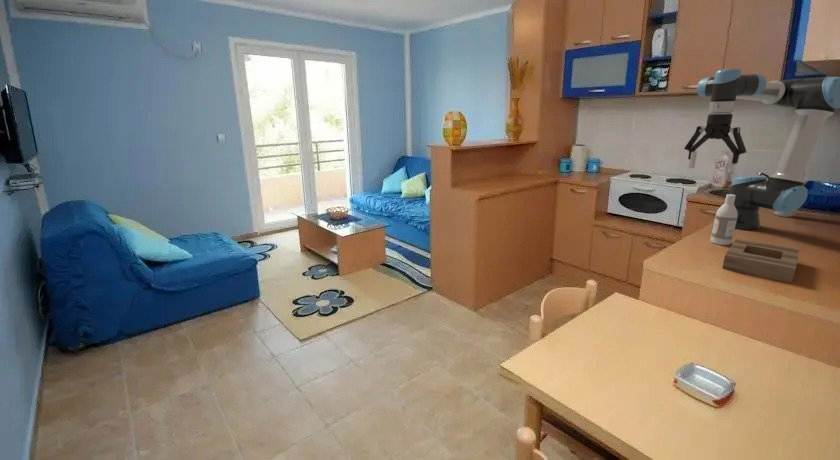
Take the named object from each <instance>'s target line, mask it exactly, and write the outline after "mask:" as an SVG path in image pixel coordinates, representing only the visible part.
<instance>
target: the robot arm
mask: <svg viewBox="0 0 840 460" xmlns="http://www.w3.org/2000/svg"><path fill="white" fill-rule="evenodd" d="M696 93H697V95H698V96H699V97H702V98H703V97H704V98H705V97H706V98H709V97H711V99H710V103H709V109H708V112H709V114H708V115H707V119H706V126H703V125H698V126H696V129H695V132H694V134H693V135H692V136H691V138H690V139H689V141H688V142H687V144H686V145H685V146H684V150H685V151H688V157H687V158H688V160H689V164H688V169H695V166H696V159H697V155H698V151H697V150H698V148H699V147H701V146H702V145H703V144H705V142H707V141H708V140H710V139H711V140H714V139H716V140H722V141H723V142H724V143H725V145H726V146H727V147H728V149H729V150H730V151H731V153H732V154H730V156H729V161H728V166H727V173H728V174H729V173H734V170H735V169H734V168H735V165H737V164H738V163H739V159H740V155H742V154H746V153H747V149H746V146H745V144H744V143H745V142H744V141H743V138H742V135H741V127H740V126H736V127H731V125H732V121H733V117H734V116H733V115H734V114H732V113H734V111H735V106H736V105H735V104H736V100H746V101H747V100H748V101H758V102H762V104H765V105H772V106H777V107H778V106H779V107H783V108H791V109H795V110H794V112H795V113H796V115H797V117H796V120H795V122H794V124H793V128H792V130H791V133H790V134H789V135H790V136H789V137H788V140H787V142H786V145H785V148H784V150H783V153H782V155H781V158H780V160H779V162H778V165H777V167H776V170H775V172H774V173H773V174H771V175H769V176H768V177H767V176H766V175H740V176H735V177H734V178H733V180H732V183H731V184H730V186H731V187H730V192H729V194H732V195H736V197H735V201H734V206H735V208H736V210H737V213H738V216H737V221H736V225H735V229H738V230H747V231H748V230H749V231H750V230H751V231H753V230H759V229H760V228H761V222H760V221H761V218H760V213H759V210H760V208H762V209H766V210H771V211H774V212H775V211H778V212H787V213H788V212H793V211H794V212H795V211H796V210H798V209H800V208H801V207H802V206H803V205H804V203H805V202H806V200H807V199H808V195H809V194H808V188H807V187H806V186H805V183H806V182H805V181H804V178H803V177H802V176H803V173H804V171H805V172H806V168H807V166H808V163H809V161H810V159H811V156H812V154H813V151H814V149H815V147H816V144H817V142H818V139H819V137H820V134H821V132H822V129H823V127H824V125H825V123H826V120H827V119H828V118H829V117H831V116H833V115H834V114H835V111H836V110H837V109H840V76H821V77H809V78H808V77H807V78H802V77H801V78H794V79H784V80H783V79H782V80H777V79H776V80H770V81H767V78H766V77H765V76H764V75H762V74H759V73H758V74H757V73H753V74H751V73H749V74H742V70H741V69H740V68H728V69H727V68H725V69H718V70H717V71H716V72H715V76H709V77H703V78H702V79H700V80H699V82H698V83H697V86H696ZM704 132H705V134H704V135H703V136H702V137H701V138H700V136H701V135H702V133H704ZM729 133H731V134H732V135H733V139H734V142H735V143H734V142H733V140H732V139H731V137H730V135H729ZM698 138H700V139H699V140H698ZM697 140H698V141H697ZM802 178H803V179H802Z"/></svg>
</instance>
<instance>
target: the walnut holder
mask: <svg viewBox="0 0 840 460" xmlns="http://www.w3.org/2000/svg"><path fill="white" fill-rule="evenodd" d="M732 242H733V243H731V244H730V245H731V246H730V247H729V248H728V250H727V251H726V253H725V254H724V259H723V264H722V268H721V269H724V270H727V271H731V272H733V271H734V272H736V273H737V272H738V273H741V274H747V275H750V276H751V275H752V276H756V277H760V278H761V277H762V278H765V279H769V280H775V281H778V282H779V281H780V282H784V283H789V284H792V283H793V280H794V276H795V273H796V269H797V265H798V260H799V254H800V249H799V248H793V247H788V246H782V245H776V244H772V243H767V242H766V243H764V242H760V241H754V240H748V239H742V238H735V239H734V241H732Z"/></svg>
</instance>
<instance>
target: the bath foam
mask: <svg viewBox="0 0 840 460" xmlns="http://www.w3.org/2000/svg"><path fill="white" fill-rule="evenodd" d="M735 197H736V195H732V194H730V193H729V194H726V197H725V200H724V203H723V204H722V205H721V206H720V207H719V208H718V209H717V211H716V213H715V216H714V222H713V227H712V231H711V236H710V239H709V240H710V242H711V243H713V244H715V245H719V246H729V245H732V242H733V238H734V234H735V229H736V228H735V225H736V221H737V216H738V213H737V210H736V208H735V206H734V201H735Z"/></svg>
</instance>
